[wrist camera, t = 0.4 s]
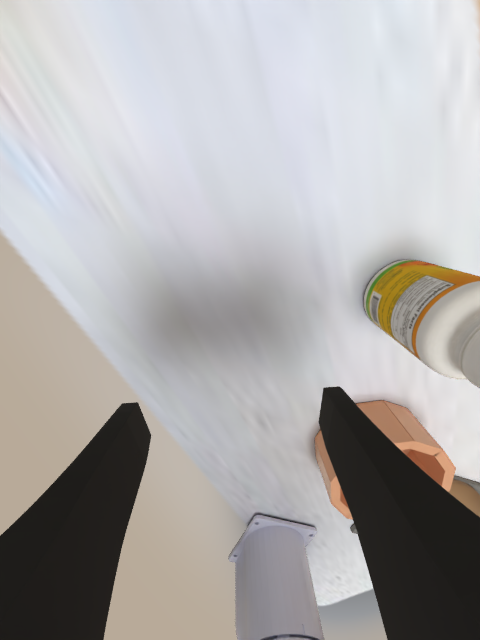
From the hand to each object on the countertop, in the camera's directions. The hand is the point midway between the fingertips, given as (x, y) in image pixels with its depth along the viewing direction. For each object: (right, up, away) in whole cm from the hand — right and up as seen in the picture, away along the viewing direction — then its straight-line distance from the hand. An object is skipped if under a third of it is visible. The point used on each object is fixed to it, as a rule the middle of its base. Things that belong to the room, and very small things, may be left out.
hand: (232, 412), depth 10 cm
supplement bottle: (+12, +6, +9) cm, 16 cm away
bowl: (+13, -8, +15) cm, 22 cm away
